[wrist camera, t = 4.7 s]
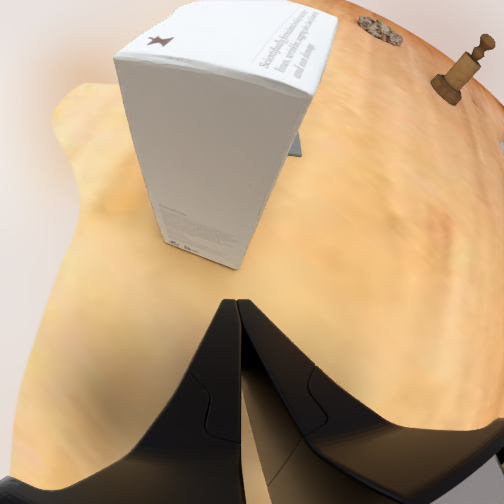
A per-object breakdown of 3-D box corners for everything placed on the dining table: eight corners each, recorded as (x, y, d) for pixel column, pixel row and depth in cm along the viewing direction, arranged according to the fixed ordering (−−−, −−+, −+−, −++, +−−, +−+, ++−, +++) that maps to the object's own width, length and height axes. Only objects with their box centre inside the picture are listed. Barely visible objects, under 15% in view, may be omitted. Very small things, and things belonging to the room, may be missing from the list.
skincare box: (238, 272, 19) (327, 114, 5) (158, 241, 19) (98, 56, 5) (272, 177, 22) (349, 16, 8) (204, 153, 22) (222, -20, 8)
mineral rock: (360, 21, 35) (363, 6, 36) (352, 34, 40) (356, 17, 40) (406, 48, 37) (406, 30, 37) (396, 59, 41) (397, 40, 41)
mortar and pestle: (443, 101, 35) (495, 41, 18) (425, 77, 36) (471, 18, 19) (460, 108, 36) (509, 55, 19) (443, 85, 38) (487, 33, 21)
